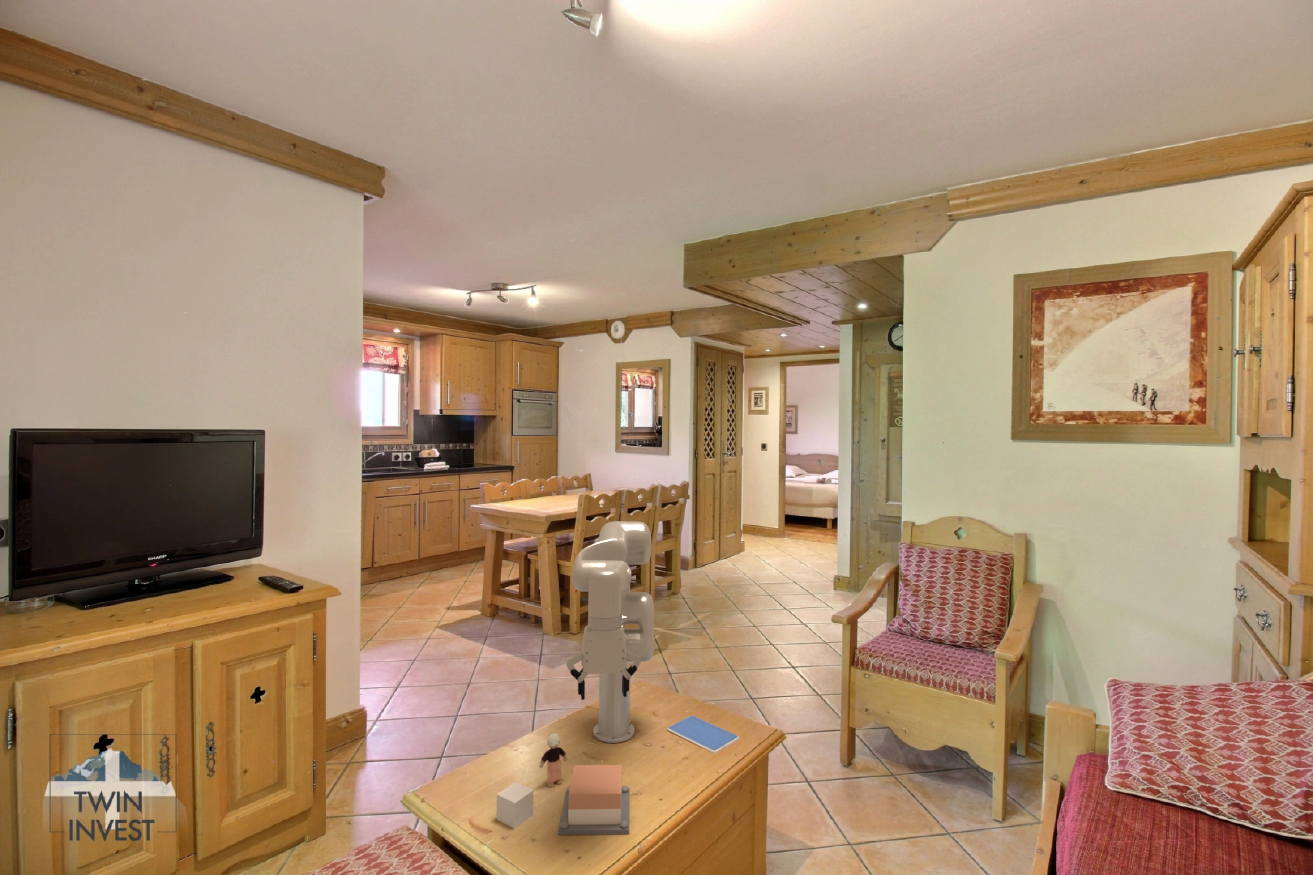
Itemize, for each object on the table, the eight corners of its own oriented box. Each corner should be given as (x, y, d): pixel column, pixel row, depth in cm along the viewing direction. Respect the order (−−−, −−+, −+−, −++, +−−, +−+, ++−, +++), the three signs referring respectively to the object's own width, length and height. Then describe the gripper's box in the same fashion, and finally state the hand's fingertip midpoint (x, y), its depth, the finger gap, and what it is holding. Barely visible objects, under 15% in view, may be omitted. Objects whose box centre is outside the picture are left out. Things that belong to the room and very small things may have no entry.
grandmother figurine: (560, 774, 158) (561, 726, 158) (569, 780, 155) (569, 732, 155) (535, 786, 153) (536, 736, 153) (544, 792, 150) (544, 742, 150)
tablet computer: (740, 740, 178) (740, 735, 178) (714, 755, 169) (714, 751, 169) (692, 718, 192) (692, 714, 192) (665, 731, 183) (665, 727, 183)
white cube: (496, 819, 139) (496, 794, 139) (515, 806, 144) (515, 781, 144) (514, 829, 136) (515, 802, 136) (533, 815, 141) (533, 789, 141)
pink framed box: (566, 792, 150) (566, 760, 150) (629, 791, 151) (630, 760, 151) (558, 834, 134) (558, 799, 134) (629, 833, 135) (629, 798, 135)
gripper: (638, 615, 142) (638, 686, 142) (566, 618, 139) (565, 691, 139) (644, 625, 135) (643, 700, 135) (567, 628, 132) (566, 705, 132)
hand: (603, 695), depth 137 cm, fingers open, 9 cm apart
